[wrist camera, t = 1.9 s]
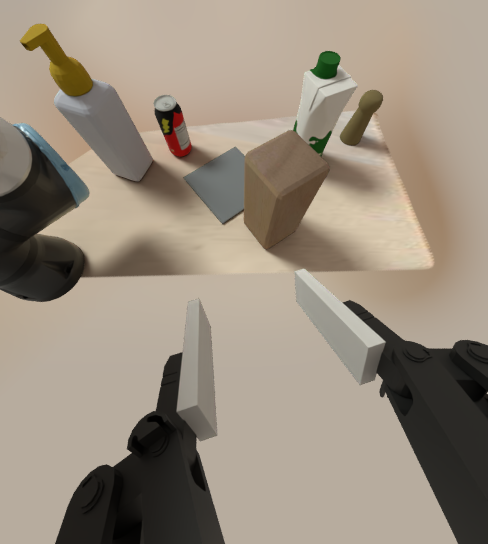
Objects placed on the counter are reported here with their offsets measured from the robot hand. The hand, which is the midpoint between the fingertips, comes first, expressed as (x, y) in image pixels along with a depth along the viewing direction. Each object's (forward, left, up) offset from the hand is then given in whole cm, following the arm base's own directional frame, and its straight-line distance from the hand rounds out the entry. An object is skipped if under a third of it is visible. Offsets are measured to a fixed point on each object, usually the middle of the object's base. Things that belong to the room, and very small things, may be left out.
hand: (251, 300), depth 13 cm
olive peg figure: (-22, +58, -29) cm, 68 cm away
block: (-14, +19, -29) cm, 37 cm away
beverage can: (-49, +15, -29) cm, 58 cm away
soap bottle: (-52, +1, -29) cm, 59 cm away
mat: (-31, +19, -28) cm, 46 cm away
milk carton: (-25, +41, -29) cm, 56 cm away
